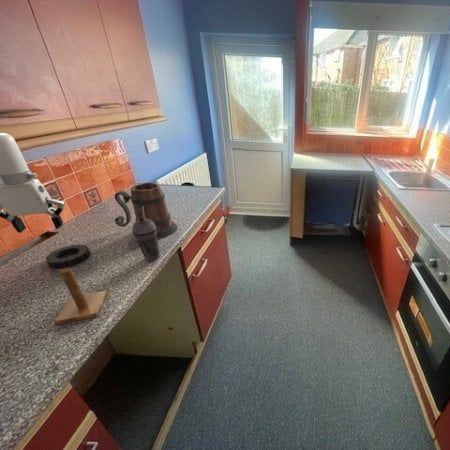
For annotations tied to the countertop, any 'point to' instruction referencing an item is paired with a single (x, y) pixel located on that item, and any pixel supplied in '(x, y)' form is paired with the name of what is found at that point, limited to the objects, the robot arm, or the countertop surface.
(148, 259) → the beverage cup
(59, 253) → the ring
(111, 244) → the countertop surface
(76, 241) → the countertop surface
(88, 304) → the stand
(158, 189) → the tankard
